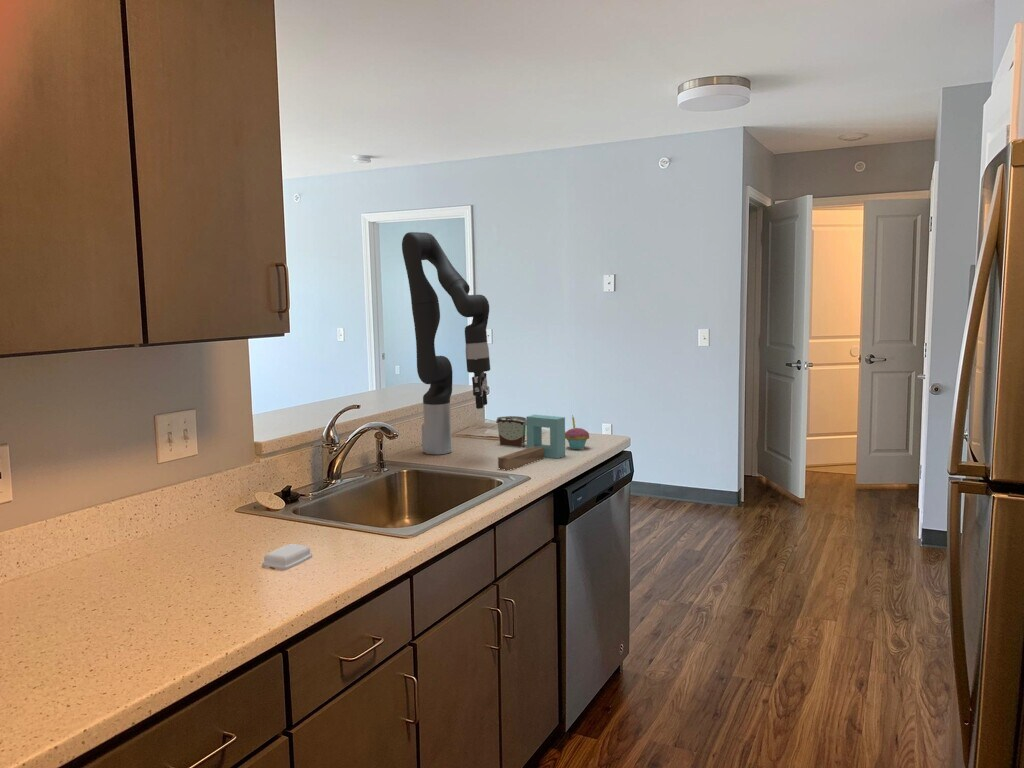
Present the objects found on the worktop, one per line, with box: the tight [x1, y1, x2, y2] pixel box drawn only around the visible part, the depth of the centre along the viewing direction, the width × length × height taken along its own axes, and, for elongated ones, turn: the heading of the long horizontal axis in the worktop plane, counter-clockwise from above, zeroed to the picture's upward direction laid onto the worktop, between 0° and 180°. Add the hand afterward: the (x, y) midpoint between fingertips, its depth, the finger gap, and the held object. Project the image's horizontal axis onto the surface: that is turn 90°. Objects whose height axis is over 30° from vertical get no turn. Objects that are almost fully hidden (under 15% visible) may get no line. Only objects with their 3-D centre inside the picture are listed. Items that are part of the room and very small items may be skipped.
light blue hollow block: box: [525, 414, 566, 460], centre depth 250 cm, size 12×5×13 cm, turn 55°
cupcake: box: [565, 414, 590, 450], centre depth 261 cm, size 9×8×12 cm
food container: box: [495, 415, 527, 448], centre depth 269 cm, size 12×6×10 cm, turn 58°
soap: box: [261, 543, 313, 571], centre depth 154 cm, size 9×7×3 cm
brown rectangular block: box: [497, 446, 545, 471], centre depth 239 cm, size 4×20×4 cm, turn 145°
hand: (481, 406), depth 243 cm, fingers open, 8 cm apart
